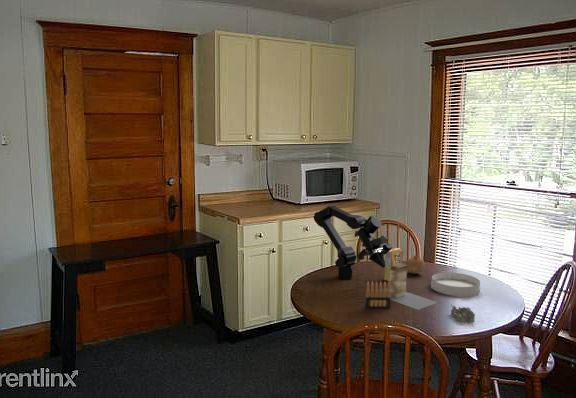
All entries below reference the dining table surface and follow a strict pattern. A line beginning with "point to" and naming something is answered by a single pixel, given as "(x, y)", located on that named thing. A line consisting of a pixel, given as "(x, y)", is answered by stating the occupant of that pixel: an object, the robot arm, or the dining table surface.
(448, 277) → the dish
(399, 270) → the birch block
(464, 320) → the dark green lumpy clump
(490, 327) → the dining table surface
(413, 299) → the rubber mat
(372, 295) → the ammunition clip
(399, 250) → the candy box
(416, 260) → the onion
